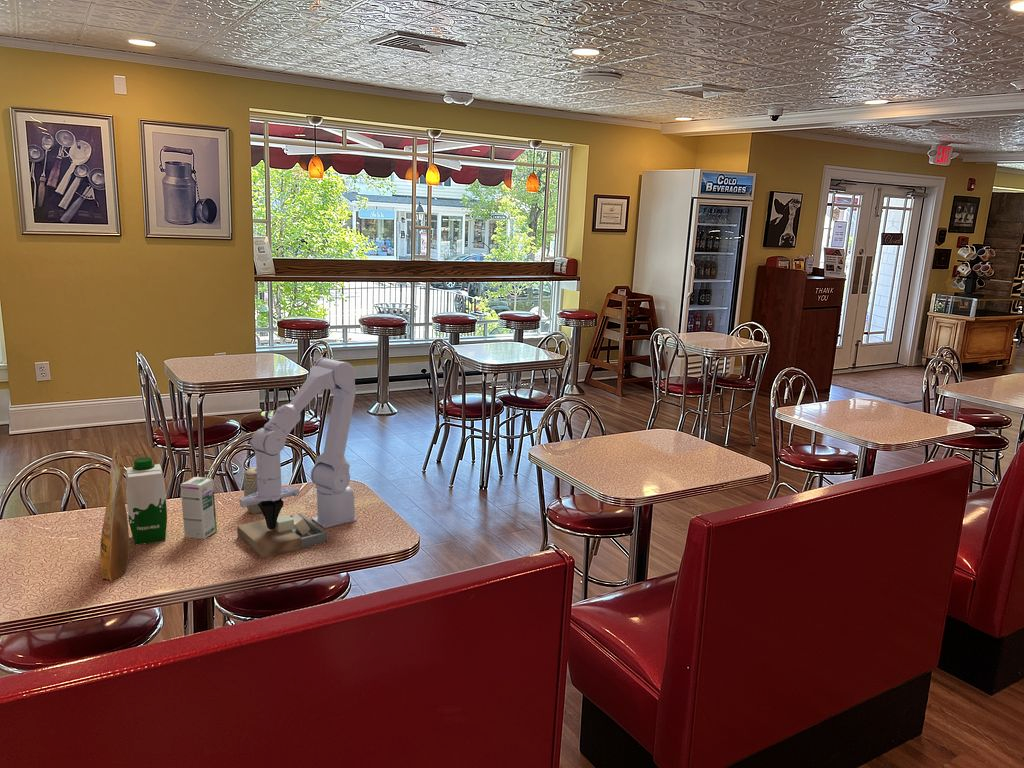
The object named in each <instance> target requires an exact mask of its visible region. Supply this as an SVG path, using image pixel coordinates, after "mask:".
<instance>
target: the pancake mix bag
mask: <svg viewBox="0 0 1024 768" xmlns="http://www.w3.org/2000/svg"><path fill="white" fill-rule="evenodd" d="M111 444H112V447H113V448H112V456H111V457H112V458H111V464H110V473H109V474H110V475H109V476H110V477H109V488H108V491H107V492H108V493H107V499H106V505H105V512H104V515H103V516H104V517H103V523H102V531H101V536H100V537H101V538H100V545H99V549H100V551H99V554H100V555H99V559H100V561H99V562H100V573H101V577H102V579H106V580H105V581H110V583H113V582H115V580H116V581H118V580H119V578H120V579H122V578H123V577H124V576H125V575H126V573H127V572H126V571H127V568H128V564H129V557H130V532H129V531H130V530H129V528H130V527H129V519H128V511H127V505H126V502H125V498H124V493H123V487H122V480H123V477H124V475H125V461H124V460H123V458H122V454H121V447H120V445H119V444H117V443H116V441H113V442H112V443H111ZM124 574H125V575H124ZM123 575H124V576H123ZM122 576H123V577H122ZM121 577H122V578H121ZM117 579H118V580H117Z"/></svg>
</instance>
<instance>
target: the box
mask: <svg viewBox="0 0 1024 768" xmlns="http://www.w3.org/2000/svg"><path fill="white" fill-rule="evenodd" d="M295 514H296V513H294V514H290V515H289V516H290V517H293V516H294V515H295ZM297 514H298V515H299V516H300V517H302V518H303V519H304V520H305V522H306V523H307V525H308V526H309V528H310V530H309V531H308V532H307V533H306V534H304V535H303V536H302V535H301V534H300V533H298V532H297V531H296V530H295V528H294V529H291V530H292V531H293V532H295V533H296V534H297V535H299V536H300V537H301V548H302V549H305V548H309V546H310V547H312V546H313V545H314V546H317V545H321V544H325V543H328V532H327V531H326V530H325V529H324V528H322V527H320V525H319V526H318V525H317V523H316V522H313V520H310V519H309V518H308V517H306V516H305V515H304V514H302V512H299V513H297ZM324 542H325V543H324ZM320 543H321V544H320Z"/></svg>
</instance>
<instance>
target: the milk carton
mask: <svg viewBox="0 0 1024 768" xmlns="http://www.w3.org/2000/svg"><path fill="white" fill-rule="evenodd" d="M133 462H134V463H133V464H134V466H130V467H126V472H125V473H126V474H125V481H126V484H125V488H126V489H125V490H126V509H127V519H128V526H129V528H130V533H131V536H132V540H133V543H134V546H137V545H136V544H140V545H145V544H144V543H146V544H152V543H159V542H165V541H166V539H167V538H166V537H167V525H168V509H167V496H166V486H165V485H166V484H165V483H166V481H165V477H164V476H165V475H164V473H163V469H162V466H161V463H156V464H155V463H153V458H152V457H139V458H136V459H134V460H133Z"/></svg>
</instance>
